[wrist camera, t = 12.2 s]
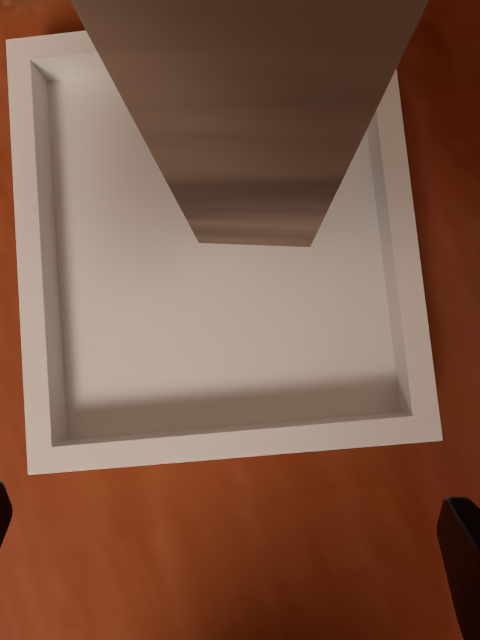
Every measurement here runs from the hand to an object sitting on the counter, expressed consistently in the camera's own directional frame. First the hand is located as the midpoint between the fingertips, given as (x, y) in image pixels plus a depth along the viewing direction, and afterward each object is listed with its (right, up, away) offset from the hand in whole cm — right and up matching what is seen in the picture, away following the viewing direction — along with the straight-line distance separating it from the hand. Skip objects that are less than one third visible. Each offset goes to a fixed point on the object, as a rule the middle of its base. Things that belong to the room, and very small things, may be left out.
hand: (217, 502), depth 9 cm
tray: (-1, +7, +11) cm, 13 cm away
